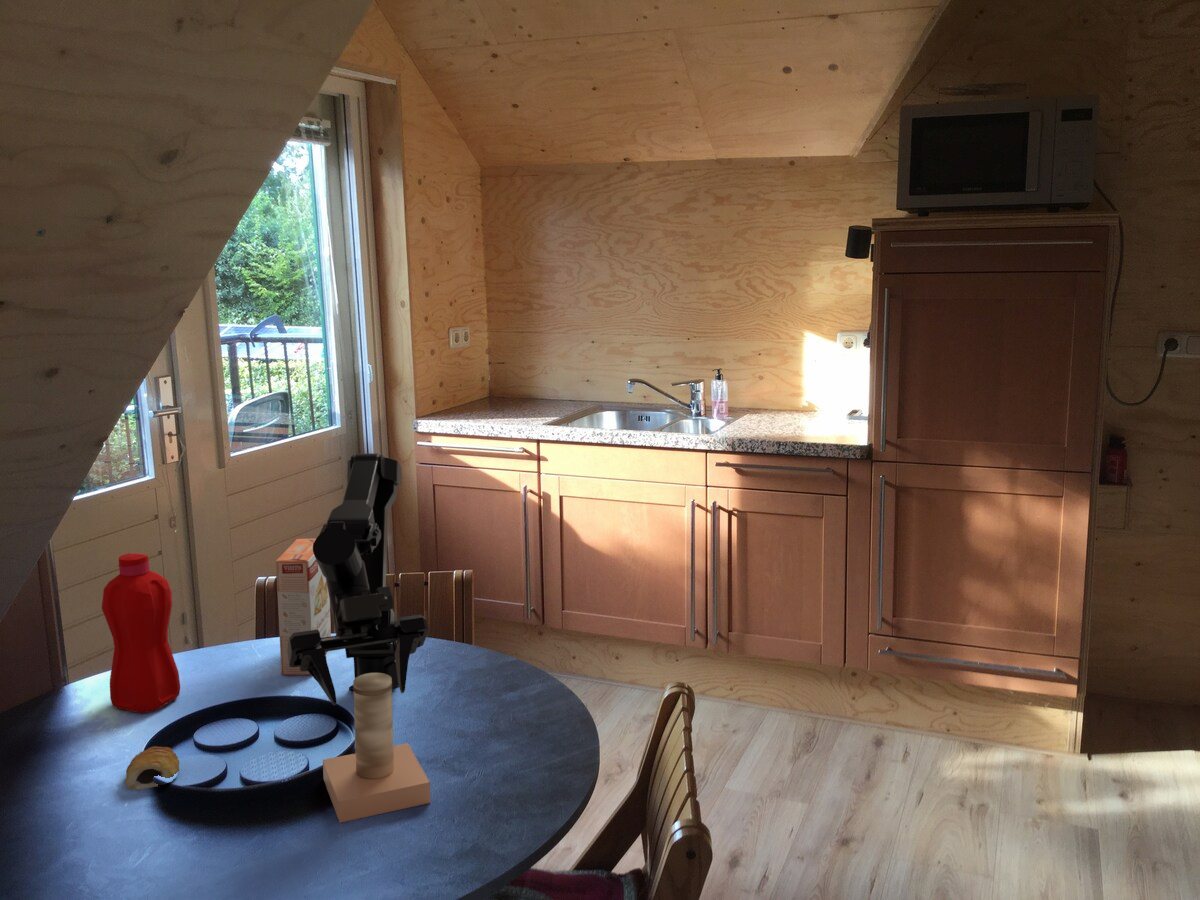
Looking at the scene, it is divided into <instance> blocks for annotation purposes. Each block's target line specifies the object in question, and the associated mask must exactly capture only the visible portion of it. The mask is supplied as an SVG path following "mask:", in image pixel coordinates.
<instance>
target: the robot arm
mask: <svg viewBox="0 0 1200 900" xmlns="http://www.w3.org/2000/svg"><path fill="white" fill-rule="evenodd" d="M346 470H347V474H346V483H347V484H346V489H345V492H344V496H343V499H342V502H341V504H340V505H337V506H336V507H334V508H333V509H332V510H331V511H330V514H329V515H328V518H327V520H326V521H327V522H326V523H323V525H322V527H321V530H320V532H319V534H318V536H317V537H316V540H315V542H314V543H313V553H314V556H315V558H316V560H317V562H318V565H319V567H320V569H321V572H322V574H323V576H324V577H326V582H327V588H328V593H329V599H330V611H331V614H332V615H331V616H332V620H333V626H334V627H333V628H334V632H335V635H331V637H324V638H320V632H319V630H318V629H317V630H310V631H304V632H297V633H293V634H292V635H291V636H290V638H289V643H288V660H289V666H290V667H299V666H300V671H308V672H309V673H310V674H311V675H310V676H311V677H312V678H313V679H314V680H315V681H316V682H317V684H318V685H319V686H320V688H321V689H322V690H323V693H324V694H325V695H326V697H327V698H328V700H329V701H330V703H331V704H332V705H333V706H336V705H337V694H336V689H335V686H334V682H333V679H332V675H331V673H330V669H329V665H328V662H327V661H328V660H327V653H328V652H332V651H338V650H345V658H346V659H351V658H352V659H353V675H354V679H355V678H356V677H358V676H360V675H363V674H367V673H384V674H387V675H389V676H390V677H391V678H392V690H394V689H396V688H397V687H398V688H399V692H400V694H404V693H405V691H406V683H407V675H408V667H409V659H410V656H411V655H412V654H416V651H417V650H418V648H421V647H422V646H424V643H425V641H426V638H427V636H428V634H429V631H430V630H429V626H428V621H427V619H426V618H425V617H424V616H423V615H422V614H414V615H408V616H401V617H397V618H396V621H395V612H394V610H393V609H394V606H395V605H394V604H395V603H394V597H393V592H392V588H391V586H390V585H389V586H387V583H386V582H387V552H388V551H387V550H388V547H387V546H388V513H389V510H390V508H392V506H393V504H394V503H395V501H396V500H397V499H398V498H397V497H398V491H399V486H401V485H402V479H403V477H402V475H403V473H402V465H401V463H400V462H399V461H398V460H396V459H394V458H389V457H385V456H384V454H380V453H356V454H352V455H351V457H350V459H349V460H347V468H346ZM325 652H327V653H326V654H325ZM348 691H350V692H353V693H354V691H353V684H352V685H350V686H348Z"/></svg>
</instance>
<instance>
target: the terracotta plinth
mask: <svg viewBox="0 0 1200 900" xmlns="http://www.w3.org/2000/svg"><path fill="white" fill-rule="evenodd" d="M393 754H394V770H393V772H392V773H391V774H390V775H388V776H386V777H383V778H379V779H365V778H361V777H359V776H358V775H357V773H356V752H355V753H351V754H345V755H341V756H336V757H331V758H326V759H325V758H323V759H322V772H323V774H322V775H323V776H322V777H323V781H324V785H325V787H326V790H327V793H328V795H329V797H330V801H331V803H332V806H333V809H334V812H335V814H336V817H337V819H338V823H339V824H340V823H345V822H349V821H354V820H359V819H362V818H369V817H372V816H376V815H382V814H386V813H389V812H394V811H395V812H396V811H399V810H405V809H409V808H412V807H413V808H414V807H417V806H422V805H427V804H431V783H430V780H429V778H428V776H427V775H426V773H425V771H424V769H423V768H422V766H421V764H420V762H419V761H418V759H417V756H416V755H415V753H414V752H413V749H412V748H411V746H410V744H409V743H408V742H406V743H402V744H396V745H393Z"/></svg>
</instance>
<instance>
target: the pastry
mask: <svg viewBox="0 0 1200 900" xmlns="http://www.w3.org/2000/svg"><path fill="white" fill-rule="evenodd" d="M178 771H179V772H180V760H179V757H178V755H177V753H175V752H174V750H173V749H172V748H171V747H168V746H156V745H154V746H151V747H148V748H147V749H145V750H142V751H140V752H139V753H137V754H135V756H134V757H133V758H132V759H131V761H130V763H129V765H128V766H127V768H126V770H125V777H126V778H125V782H124V784H125V786H126V788H128V789H129V790H130V791H142V790H149V789H151V788H158V784H156V783H154V780H153V777H154V776H158V775H159V776H161V777H165V778H170V777H173V776H174V774H176V773H177V772H178Z"/></svg>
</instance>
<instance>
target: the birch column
mask: <svg viewBox="0 0 1200 900" xmlns="http://www.w3.org/2000/svg"><path fill="white" fill-rule="evenodd" d="M352 685H353V691H354V692H353V691H352V692H353V712H354V740H355V741H354V742H355V743H354V744H355V746H354V747H355V753H356V773H357V775H358V776H359V777H361V778H365V779H379V778H383V777H386V776H388V775H390V774H391V773H392V772H393V770H394V754H393V746H394V727H393V725H394V722H393V719H394V718H393V715H394V713H393V689H392V678H391V677H390V676H389V675H387V674H384V673H367V674H363V675H360V676H358V677H356V678H355V677H354V679H353V684H352Z"/></svg>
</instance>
